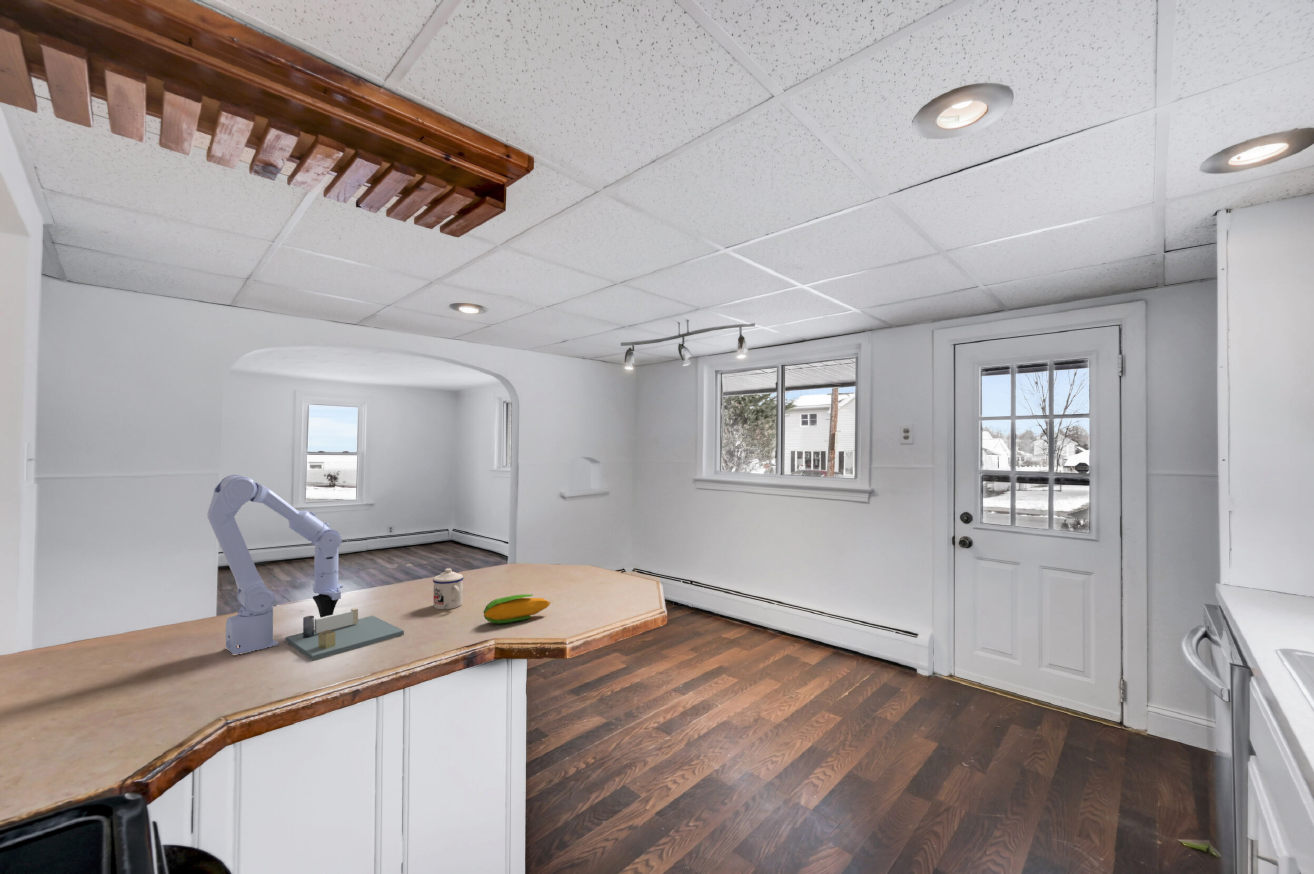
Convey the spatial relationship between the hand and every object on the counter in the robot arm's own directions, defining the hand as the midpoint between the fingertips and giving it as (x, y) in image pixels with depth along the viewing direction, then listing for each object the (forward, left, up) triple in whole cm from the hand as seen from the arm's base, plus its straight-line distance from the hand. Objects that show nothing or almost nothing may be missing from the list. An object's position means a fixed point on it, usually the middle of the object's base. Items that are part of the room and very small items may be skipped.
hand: (326, 620), depth 150 cm
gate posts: (-6, -11, -1) cm, 12 cm away
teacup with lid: (+33, -7, -3) cm, 34 cm away
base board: (+1, -10, -3) cm, 11 cm away
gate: (+1, -5, -1) cm, 5 cm away
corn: (+39, -33, -3) cm, 52 cm away
